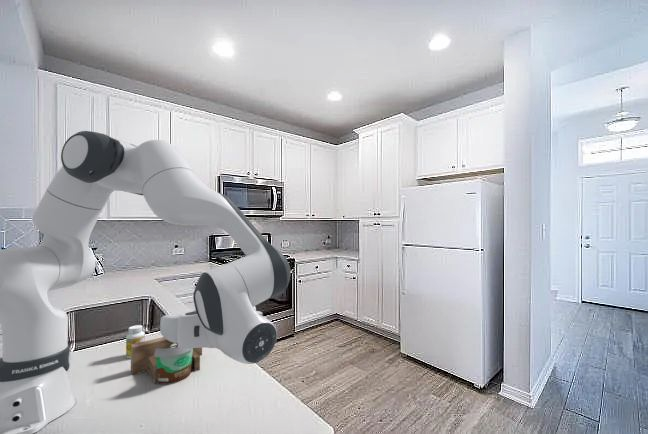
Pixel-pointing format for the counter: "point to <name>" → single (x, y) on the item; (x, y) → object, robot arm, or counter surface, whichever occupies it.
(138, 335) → the supplement bottle
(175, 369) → the food container
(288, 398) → the counter surface
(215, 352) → the counter surface
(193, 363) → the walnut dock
